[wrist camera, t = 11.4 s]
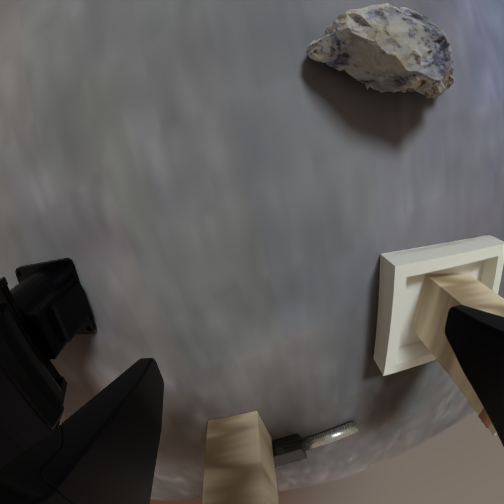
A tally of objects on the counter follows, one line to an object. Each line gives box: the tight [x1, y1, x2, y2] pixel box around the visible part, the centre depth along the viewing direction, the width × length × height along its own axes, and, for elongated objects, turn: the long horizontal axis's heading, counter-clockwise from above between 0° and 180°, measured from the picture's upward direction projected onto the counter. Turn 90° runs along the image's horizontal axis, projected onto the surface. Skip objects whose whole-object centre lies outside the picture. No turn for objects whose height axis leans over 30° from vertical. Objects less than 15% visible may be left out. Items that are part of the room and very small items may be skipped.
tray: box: [373, 235, 504, 376], centre depth 22 cm, size 12×10×2 cm
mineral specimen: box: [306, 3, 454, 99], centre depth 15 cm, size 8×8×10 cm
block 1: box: [202, 411, 279, 504], centre depth 21 cm, size 5×5×13 cm
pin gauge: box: [272, 421, 359, 467], centre depth 27 cm, size 10×2×2 cm, turn 113°
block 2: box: [411, 273, 504, 435], centre depth 16 cm, size 5×5×13 cm
